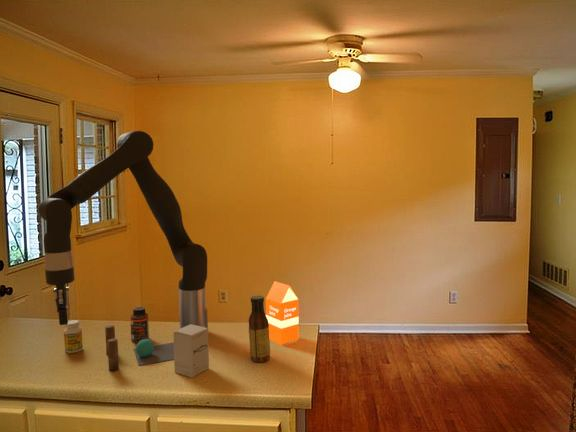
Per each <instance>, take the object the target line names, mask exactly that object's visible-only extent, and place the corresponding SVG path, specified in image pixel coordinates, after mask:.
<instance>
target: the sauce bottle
mask: <svg viewBox="0 0 576 432" xmlns="http://www.w3.org/2000/svg"><path fill="white" fill-rule="evenodd" d="M250 302H251V313H250V315H249V318H248V336H249V354H250V359H251V361H252V362H256V363H264V362H267V361H269V359H270V358H271V355H270V354H271V343H270V340H269V323H268V320H267V317H266V311H265V306H264V303H265V297H264V296H262V295H253V296H251V297H250Z"/></svg>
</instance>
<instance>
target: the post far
mask: <svg viewBox="0 0 576 432" xmlns="http://www.w3.org/2000/svg"><path fill="white" fill-rule="evenodd" d="M115 330H116V328H115V325H111V324H110V325H106V326H104V331H105V334H104V335H105V349H106V350H105V351H106V353H105V354H106V356H108V343H107V341H108V340H109V339H116V332H115Z"/></svg>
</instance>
